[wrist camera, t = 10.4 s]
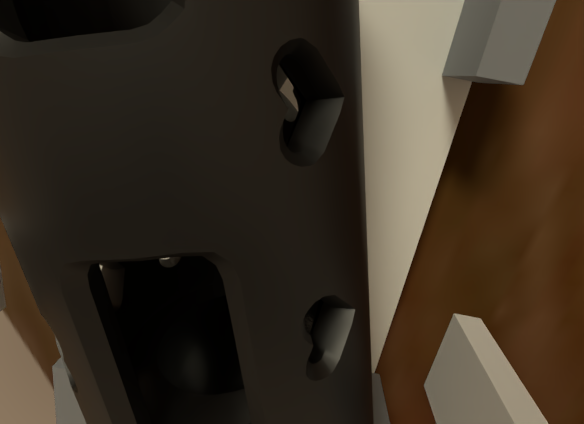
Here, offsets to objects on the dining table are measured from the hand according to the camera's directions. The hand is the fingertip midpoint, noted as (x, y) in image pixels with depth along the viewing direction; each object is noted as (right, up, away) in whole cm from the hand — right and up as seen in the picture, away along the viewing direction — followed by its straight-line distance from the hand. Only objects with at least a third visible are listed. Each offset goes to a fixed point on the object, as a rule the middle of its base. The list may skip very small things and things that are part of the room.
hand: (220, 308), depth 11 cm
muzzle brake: (0, +2, +6) cm, 7 cm away
